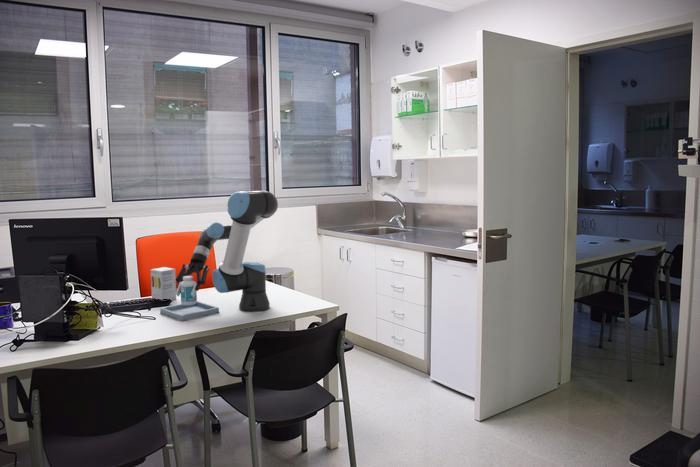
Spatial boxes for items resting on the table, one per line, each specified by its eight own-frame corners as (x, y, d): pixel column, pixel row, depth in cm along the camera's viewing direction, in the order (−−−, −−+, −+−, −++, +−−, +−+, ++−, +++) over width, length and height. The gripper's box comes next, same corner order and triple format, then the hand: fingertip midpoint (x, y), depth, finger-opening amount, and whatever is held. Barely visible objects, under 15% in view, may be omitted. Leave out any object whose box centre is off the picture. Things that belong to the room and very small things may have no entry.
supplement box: (151, 300, 289) (149, 269, 287) (165, 296, 297) (164, 266, 295) (162, 302, 284) (160, 271, 282) (177, 299, 292) (175, 268, 289)
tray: (218, 312, 265) (218, 307, 264) (182, 321, 250) (181, 315, 250) (196, 305, 278) (196, 300, 278) (160, 313, 263) (160, 308, 263)
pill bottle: (199, 302, 267) (198, 275, 265) (193, 306, 260) (192, 278, 258) (184, 301, 268) (183, 274, 266) (178, 305, 261) (177, 278, 259)
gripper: (221, 261, 274) (207, 300, 261) (184, 259, 279) (169, 298, 265) (216, 253, 268) (201, 292, 255) (179, 251, 273) (162, 290, 259)
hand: (184, 295), depth 260 cm, fingers closed on pill bottle, 7 cm apart
